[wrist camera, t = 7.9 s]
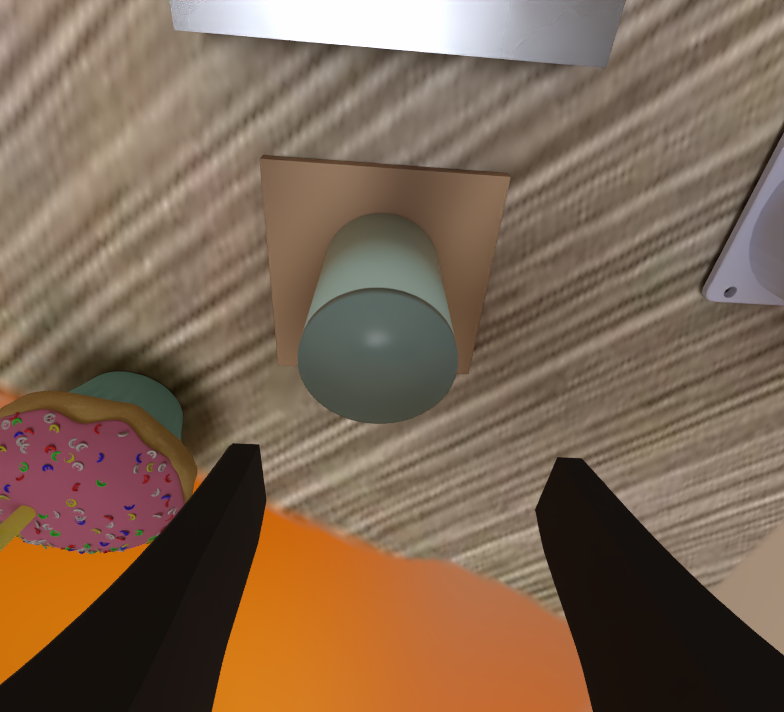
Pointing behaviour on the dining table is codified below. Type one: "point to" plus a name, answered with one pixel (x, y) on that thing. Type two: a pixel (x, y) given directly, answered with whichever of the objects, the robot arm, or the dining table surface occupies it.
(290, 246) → the coaster
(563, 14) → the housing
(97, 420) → the cupcake
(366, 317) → the cylinder
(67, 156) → the dining table surface
